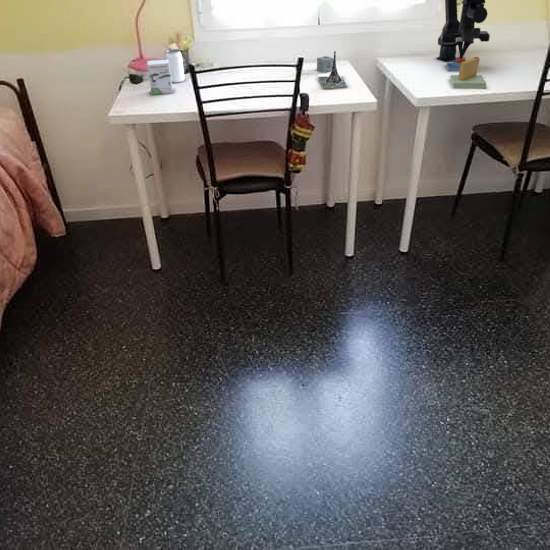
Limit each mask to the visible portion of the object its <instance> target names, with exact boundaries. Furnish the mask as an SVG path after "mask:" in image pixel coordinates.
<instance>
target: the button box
mask: <svg viewBox="0 0 550 550" xmlns="http://www.w3.org/2000/svg"><path fill="white" fill-rule="evenodd" d="M467 60H468V59H465V61H467ZM460 65H461V63H458V62H456V60H452V61H451V62H446V64H445V66H446V69H447V71H448V72H459V71H460Z"/></svg>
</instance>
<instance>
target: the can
mask: <svg viewBox="0 0 550 550" xmlns="http://www.w3.org/2000/svg"><path fill="white" fill-rule="evenodd" d="M165 52H166V54H165V60H168V61H169V67H170V74H171V81H172V84H173V83H175V84H177V83H178V84H179V83H182V82H184V81H185V79H186V78H185V70H184V63H183V61H184V60H183V55H182V53H181V50H180V49H178V48H171V49H167V50H166V51H165Z"/></svg>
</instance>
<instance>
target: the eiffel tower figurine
mask: <svg viewBox="0 0 550 550" xmlns="http://www.w3.org/2000/svg"><path fill="white" fill-rule="evenodd" d="M336 53H337V51H336V50H334V51H333V58H334V60H333V68H332V71H330V74H329V76H318V77H317V78H318V80H319V82H320V83H321V86H322V88H323V89H335V88H336V89H337V88H344V87H348V84H347V83H346V81H345V80H344V78H343V77H342V76H340V75H339V72H338V69H337V58H336V57H337V55H336Z"/></svg>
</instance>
